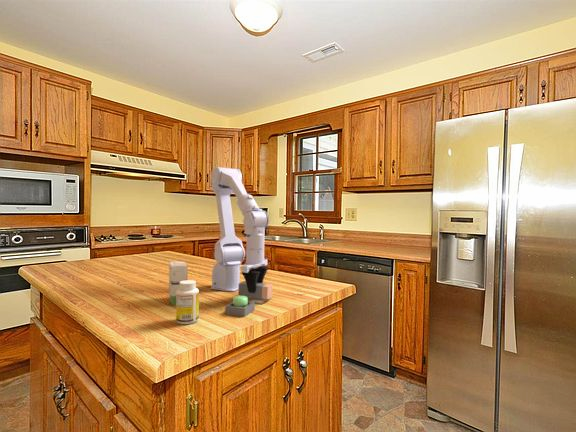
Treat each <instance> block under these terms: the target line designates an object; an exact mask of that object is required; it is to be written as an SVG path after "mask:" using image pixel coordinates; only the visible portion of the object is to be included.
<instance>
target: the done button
mask: <svg viewBox="0 0 576 432" xmlns="http://www.w3.org/2000/svg"><path fill="white" fill-rule="evenodd" d="M232 298H233V299H232V300H233V301H232V302H233V306H236V307H243V308H244V307H245V306H247V305H248V297H246V296H240V295H236V296H234V297H232Z"/></svg>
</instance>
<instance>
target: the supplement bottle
mask: <svg viewBox="0 0 576 432" xmlns="http://www.w3.org/2000/svg"><path fill="white" fill-rule="evenodd" d="M196 283H197V282H196V280H193V279H188V280H184V281H181V282H180V285H179V288H180V289H178V290H177V291H176V305H175V310H176V311H175V314H176V315H175V321H176V322H177V323H178V324H180V325H191V324H195V323H196V322H198V320H199V318H200V314H199V313H200V305H199V304H200V299H199V297H200V290H199V288H197V286H196V285H197V284H196Z"/></svg>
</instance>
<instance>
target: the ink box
mask: <svg viewBox="0 0 576 432" xmlns="http://www.w3.org/2000/svg"><path fill="white" fill-rule="evenodd" d="M168 270H169V272H168V275H169V276H168V277H169V278H168V293H169V295H168V298H169V301H170V303H171V305H172V306H176V291H177V290H178V289H180V288H179V285H180V282H181V281H184V280H189V277H188V273H189V272H188V270H189V269H188V264H187V263H186V262H185V261H169V262H168Z"/></svg>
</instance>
